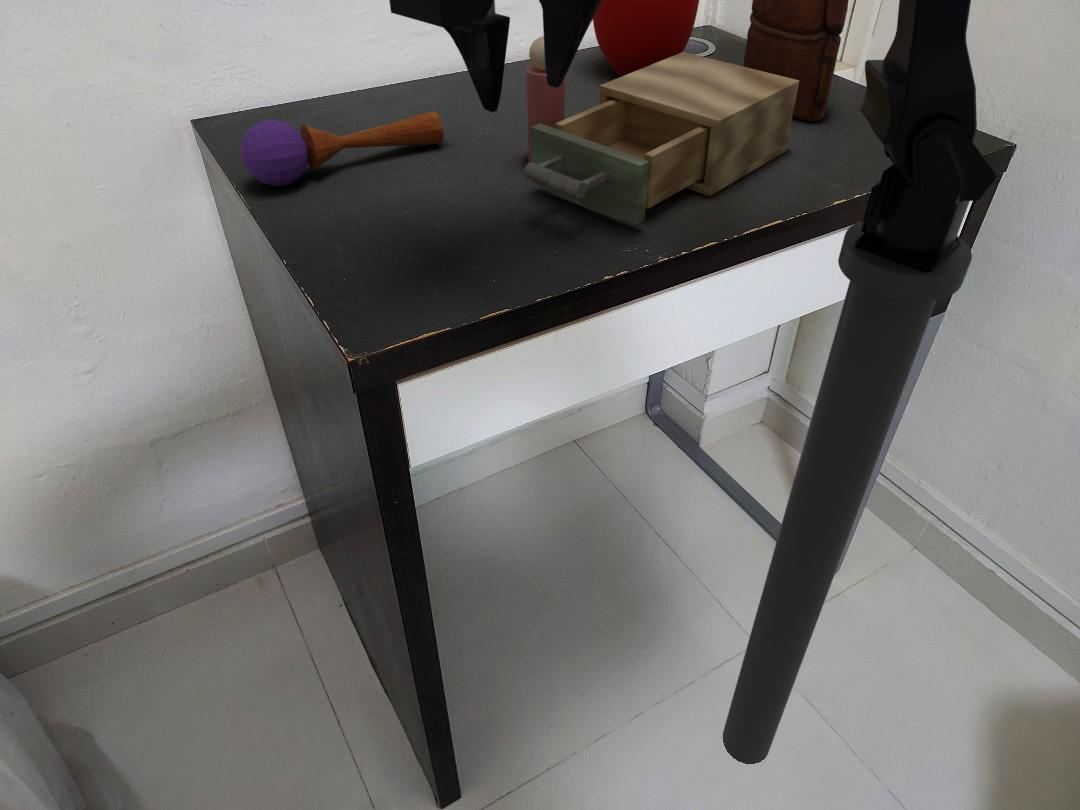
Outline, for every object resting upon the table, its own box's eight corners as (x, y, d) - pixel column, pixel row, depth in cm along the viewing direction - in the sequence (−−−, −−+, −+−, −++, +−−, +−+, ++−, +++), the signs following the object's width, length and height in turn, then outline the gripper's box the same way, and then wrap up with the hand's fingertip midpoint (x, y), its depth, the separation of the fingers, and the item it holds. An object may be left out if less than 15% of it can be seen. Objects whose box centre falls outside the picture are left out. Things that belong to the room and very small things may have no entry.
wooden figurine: (845, 112, 88) (889, -74, 76) (812, 127, 85) (853, -64, 73) (757, 86, 95) (785, -88, 83) (724, 99, 92) (749, -80, 80)
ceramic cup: (728, 60, 102) (740, -26, 96) (651, 95, 93) (659, 3, 86) (647, 41, 109) (653, -41, 103) (568, 72, 100) (569, -16, 93)
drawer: (604, 243, 65) (607, 182, 61) (499, 197, 71) (496, 140, 68) (719, 177, 74) (727, 121, 70) (616, 142, 80) (619, 89, 77)
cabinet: (709, 196, 73) (719, 120, 68) (597, 156, 80) (599, 85, 75) (785, 151, 80) (799, 80, 76) (676, 118, 87) (683, 51, 83)
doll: (571, 160, 79) (573, 36, 72) (547, 171, 78) (545, 45, 70) (545, 150, 81) (544, 28, 74) (521, 161, 79) (517, 37, 72)
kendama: (451, 114, 79) (250, 145, 70) (447, 167, 83) (257, 203, 74) (424, 86, 82) (228, 112, 73) (422, 139, 86) (236, 169, 77)
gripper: (528, -174, 59) (532, 47, 69) (316, -149, 48) (358, 106, 59) (647, -165, 53) (632, 75, 63) (434, -135, 43) (458, 146, 53)
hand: (523, 98), depth 59 cm, fingers open, 6 cm apart
